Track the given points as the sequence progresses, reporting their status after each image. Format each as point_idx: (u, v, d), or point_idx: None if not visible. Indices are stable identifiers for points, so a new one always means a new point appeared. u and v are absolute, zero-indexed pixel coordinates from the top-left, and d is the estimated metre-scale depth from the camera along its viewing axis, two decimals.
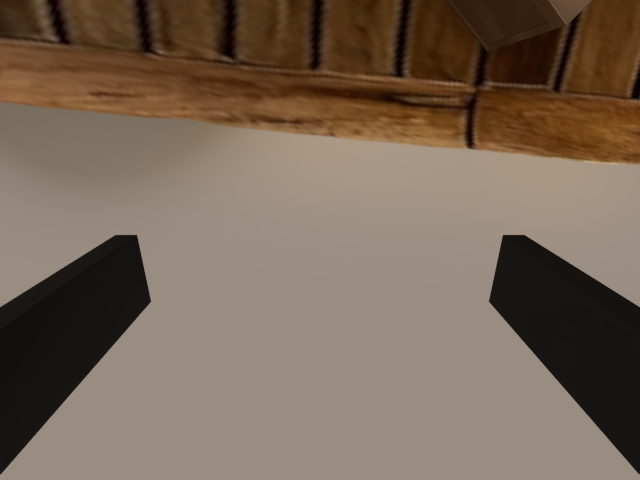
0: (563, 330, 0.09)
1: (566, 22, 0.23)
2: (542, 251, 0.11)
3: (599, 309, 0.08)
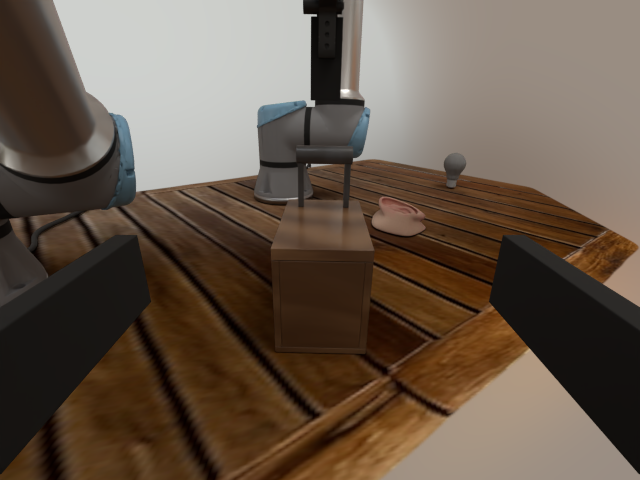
0: (563, 329, 0.09)
1: (372, 250, 0.31)
2: (542, 251, 0.11)
3: (599, 309, 0.08)
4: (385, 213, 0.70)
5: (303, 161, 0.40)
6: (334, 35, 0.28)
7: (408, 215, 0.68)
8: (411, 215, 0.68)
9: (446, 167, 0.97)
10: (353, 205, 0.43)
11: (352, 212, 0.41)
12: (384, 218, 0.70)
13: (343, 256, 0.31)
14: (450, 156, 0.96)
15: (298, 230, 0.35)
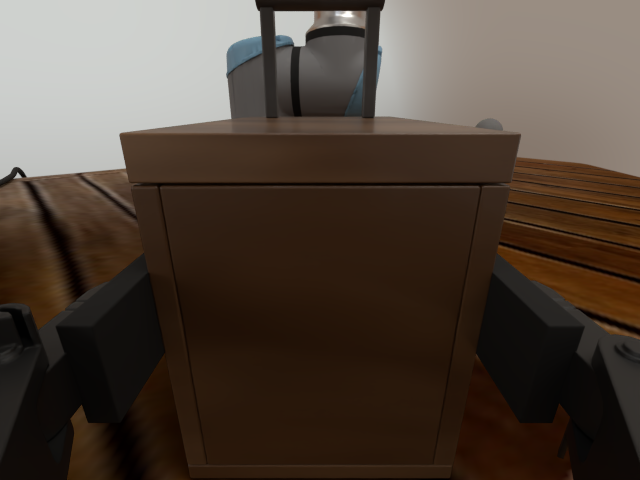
0: None
1: (513, 132, 0.08)
2: None
3: (499, 284, 0.09)
4: None
5: None
6: None
7: None
8: None
9: None
10: (383, 117, 0.21)
11: None
12: None
13: (400, 161, 0.08)
14: (482, 122, 0.75)
15: (248, 124, 0.12)
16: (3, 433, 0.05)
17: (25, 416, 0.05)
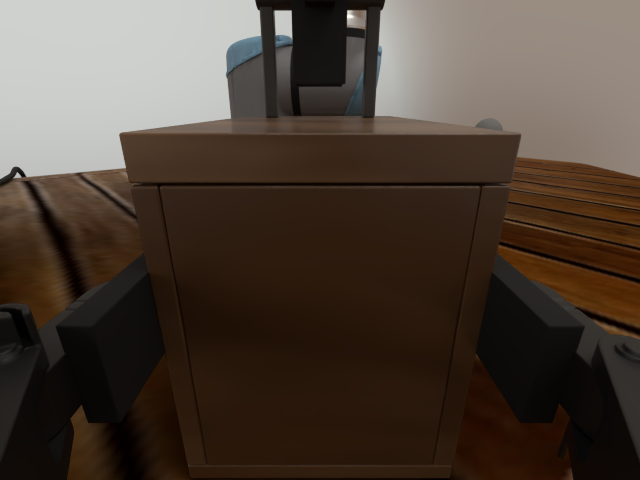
0: None
1: (513, 132, 0.08)
2: None
3: (498, 284, 0.09)
4: None
5: None
6: None
7: None
8: None
9: None
10: None
11: (386, 118, 0.18)
12: None
13: (401, 161, 0.08)
14: (482, 122, 0.75)
15: None
16: (3, 433, 0.05)
17: (25, 416, 0.05)
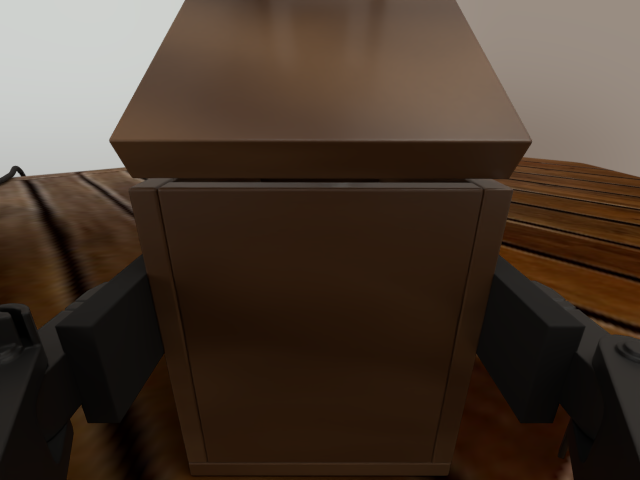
0: None
1: (524, 138, 0.08)
2: None
3: (499, 284, 0.09)
4: None
5: None
6: None
7: None
8: None
9: None
10: None
11: None
12: None
13: (402, 163, 0.08)
14: None
15: (234, 41, 0.10)
16: (2, 433, 0.05)
17: (24, 416, 0.05)
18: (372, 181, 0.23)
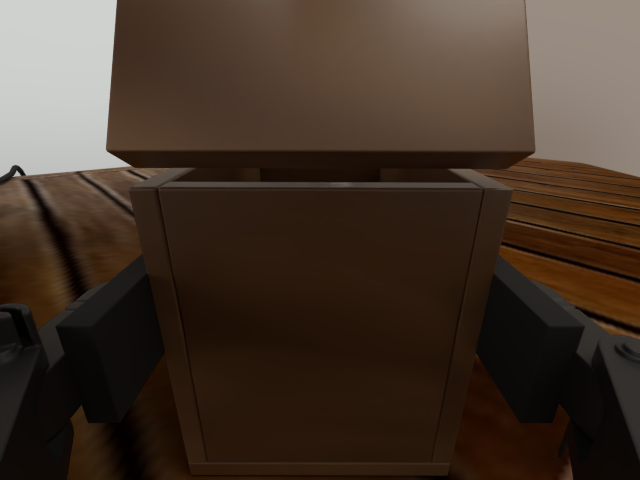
0: None
1: (528, 148, 0.07)
2: None
3: (499, 284, 0.09)
4: None
5: None
6: None
7: None
8: None
9: None
10: None
11: None
12: None
13: (402, 162, 0.08)
14: None
15: None
16: (3, 433, 0.05)
17: (25, 416, 0.05)
18: (372, 181, 0.23)
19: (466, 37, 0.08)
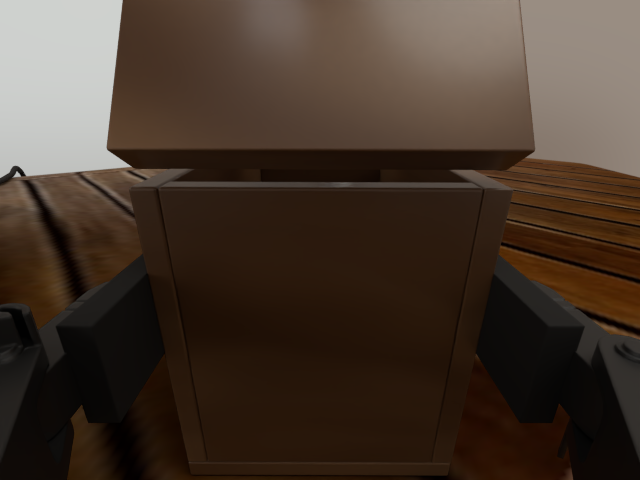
0: None
1: (528, 146, 0.07)
2: None
3: (498, 284, 0.09)
4: None
5: None
6: None
7: None
8: None
9: None
10: None
11: None
12: None
13: (402, 162, 0.08)
14: None
15: None
16: (3, 433, 0.05)
17: (25, 416, 0.05)
18: (372, 181, 0.23)
19: (463, 40, 0.08)
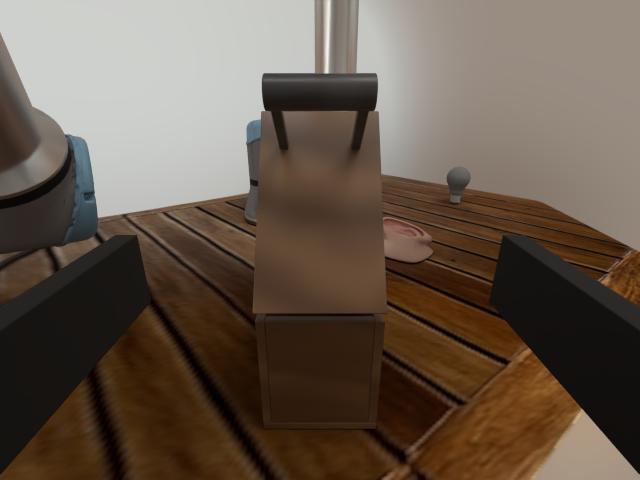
0: (563, 330, 0.09)
1: (384, 312, 0.24)
2: (542, 251, 0.11)
3: (599, 309, 0.08)
4: (388, 236, 0.64)
5: None
6: None
7: (414, 238, 0.61)
8: (417, 238, 0.61)
9: (449, 182, 0.92)
10: (368, 136, 0.27)
11: (365, 168, 0.26)
12: (387, 242, 0.63)
13: None
14: (453, 170, 0.91)
15: (284, 250, 0.25)
16: None
17: None
18: None
19: (365, 275, 0.24)
